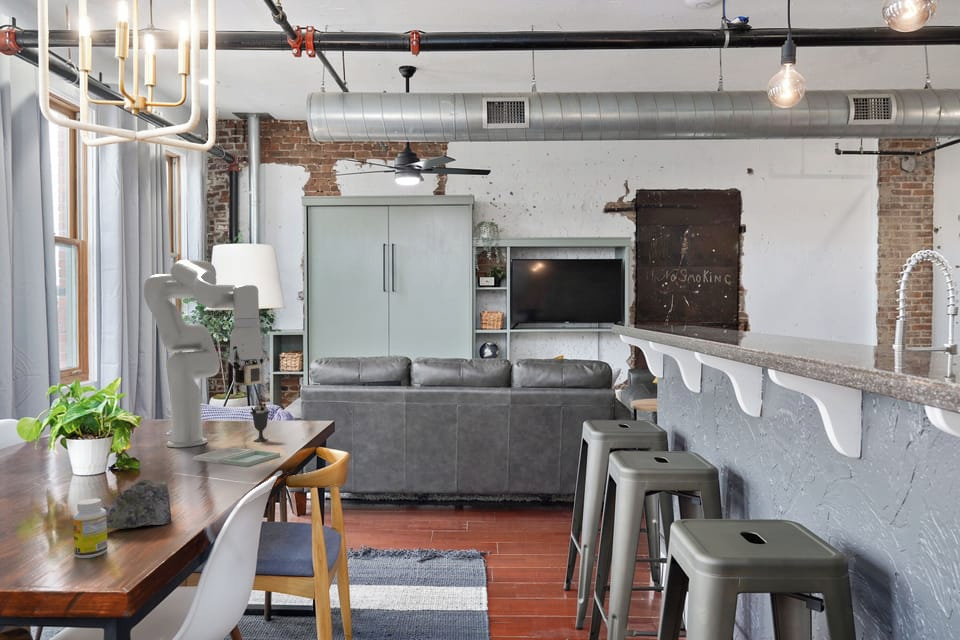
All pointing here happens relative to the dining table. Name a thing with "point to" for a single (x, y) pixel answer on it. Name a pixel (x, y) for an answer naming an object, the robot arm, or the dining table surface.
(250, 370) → the light wooden cube
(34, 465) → the dining table surface
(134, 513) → the mineral rock
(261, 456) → the tray sage
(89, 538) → the supplement bottle
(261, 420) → the sundae
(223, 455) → the tray white
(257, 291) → the robot arm
